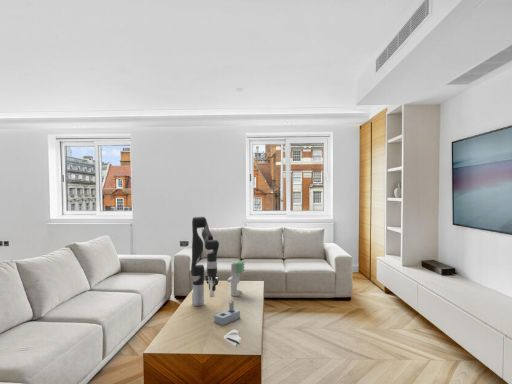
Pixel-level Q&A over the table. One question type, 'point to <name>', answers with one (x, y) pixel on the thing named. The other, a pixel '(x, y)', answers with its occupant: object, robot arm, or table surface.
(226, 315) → the hole block
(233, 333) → the cloth
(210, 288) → the cream peg
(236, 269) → the toy
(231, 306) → the grey peg
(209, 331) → the table surface
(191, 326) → the table surface
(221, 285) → the table surface
